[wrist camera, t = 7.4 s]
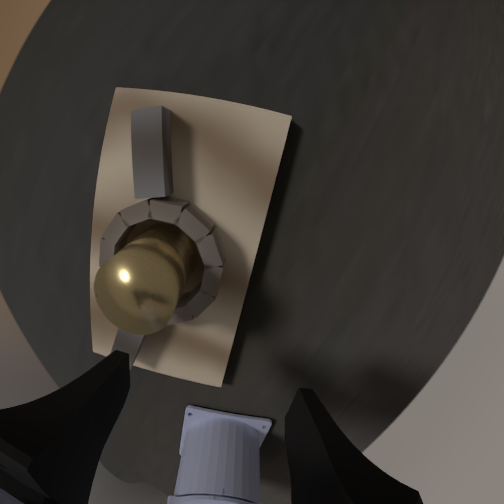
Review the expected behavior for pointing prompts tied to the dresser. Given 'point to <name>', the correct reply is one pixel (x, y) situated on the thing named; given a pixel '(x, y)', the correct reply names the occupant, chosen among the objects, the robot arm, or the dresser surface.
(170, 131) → the coupling plate
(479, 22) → the dresser surface
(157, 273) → the cylinder
